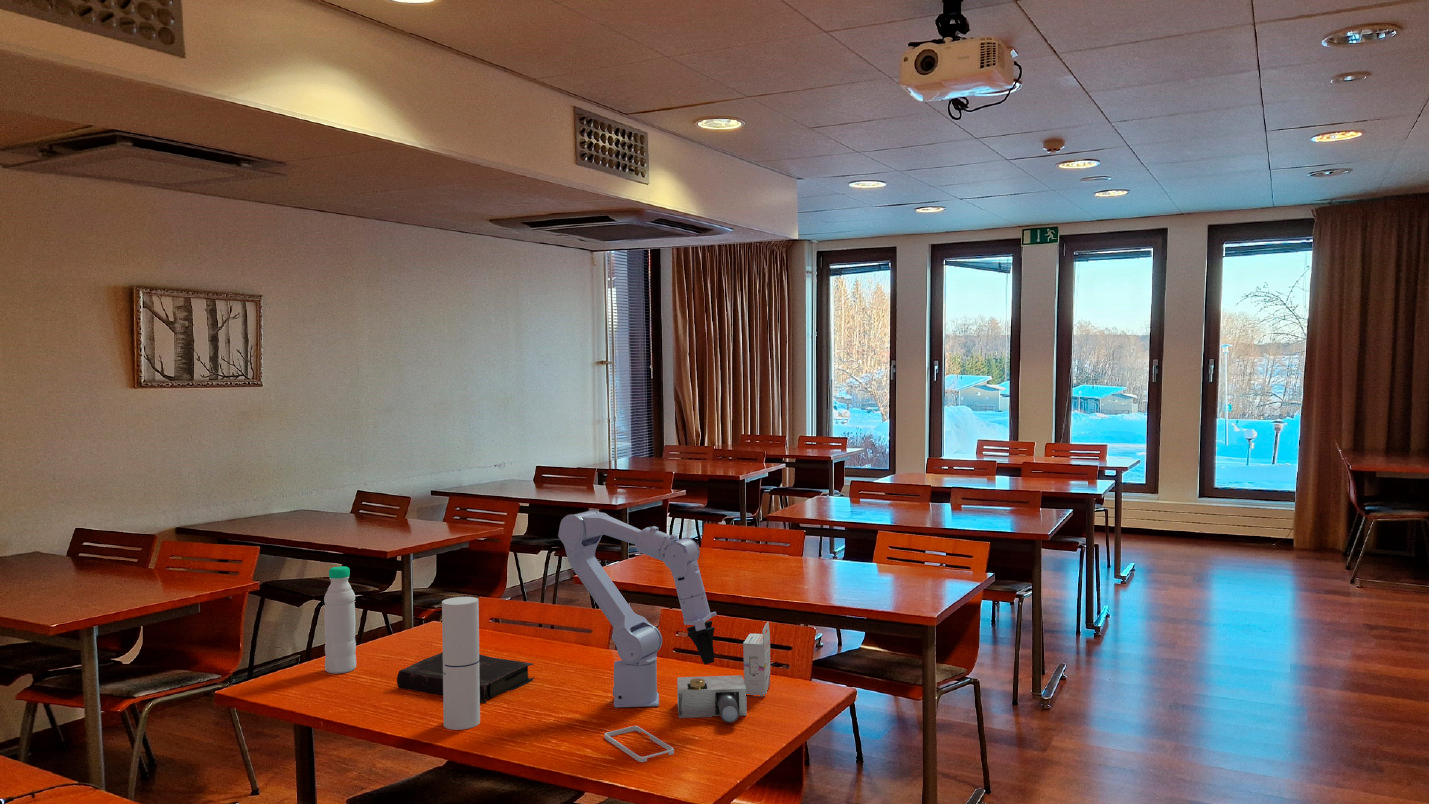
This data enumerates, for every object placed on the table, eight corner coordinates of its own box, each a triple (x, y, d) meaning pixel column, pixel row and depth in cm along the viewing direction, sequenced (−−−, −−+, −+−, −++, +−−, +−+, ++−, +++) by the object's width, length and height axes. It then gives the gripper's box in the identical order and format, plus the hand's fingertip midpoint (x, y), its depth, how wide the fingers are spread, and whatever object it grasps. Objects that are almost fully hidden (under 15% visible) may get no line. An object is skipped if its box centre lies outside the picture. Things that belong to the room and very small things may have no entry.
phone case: (603, 740, 182) (640, 765, 169) (603, 733, 182) (640, 758, 169) (636, 731, 186) (675, 756, 173) (636, 725, 186) (675, 748, 173)
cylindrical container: (460, 732, 185) (459, 606, 185) (436, 725, 189) (434, 602, 188) (487, 721, 191) (485, 599, 191) (462, 715, 195) (461, 595, 195)
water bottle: (362, 668, 228) (361, 566, 228) (337, 676, 222) (335, 571, 222) (344, 664, 232) (342, 563, 232) (318, 671, 226) (317, 568, 226)
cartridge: (720, 723, 186) (720, 704, 186) (716, 703, 198) (715, 685, 198) (739, 723, 186) (739, 704, 186) (733, 702, 199) (733, 684, 199)
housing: (678, 717, 192) (678, 690, 192) (677, 703, 201) (677, 677, 201) (746, 715, 193) (746, 688, 193) (742, 701, 202) (742, 675, 202)
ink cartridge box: (749, 683, 214) (748, 619, 213) (770, 685, 213) (770, 620, 212) (743, 696, 205) (742, 629, 205) (765, 697, 204) (764, 630, 204)
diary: (483, 707, 202) (483, 684, 202) (396, 692, 213) (396, 670, 213) (536, 681, 219) (535, 660, 218) (453, 668, 229) (452, 648, 229)
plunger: (690, 691, 193) (690, 683, 193) (689, 687, 196) (689, 678, 196) (704, 691, 193) (704, 682, 193) (704, 686, 196) (704, 678, 196)
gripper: (712, 594, 190) (729, 660, 188) (708, 588, 204) (724, 650, 202) (678, 603, 189) (695, 669, 187) (677, 597, 203) (693, 659, 202)
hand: (708, 660), depth 195 cm, fingers open, 7 cm apart
